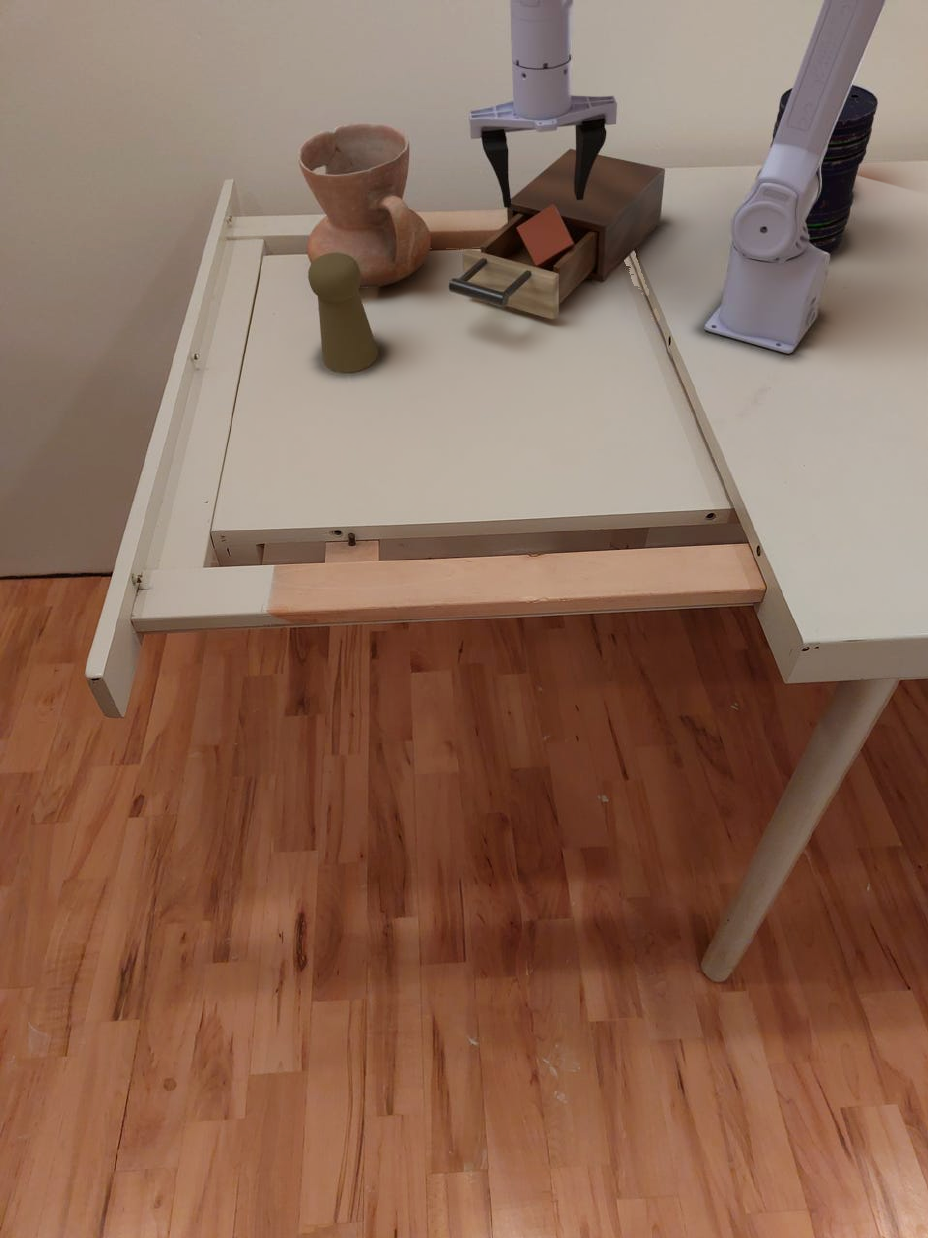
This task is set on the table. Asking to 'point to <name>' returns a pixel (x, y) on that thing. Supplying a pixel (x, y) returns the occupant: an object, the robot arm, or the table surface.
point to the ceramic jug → (365, 201)
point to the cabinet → (600, 203)
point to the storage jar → (838, 167)
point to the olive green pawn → (342, 314)
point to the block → (546, 237)
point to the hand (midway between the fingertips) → (542, 199)
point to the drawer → (525, 270)
